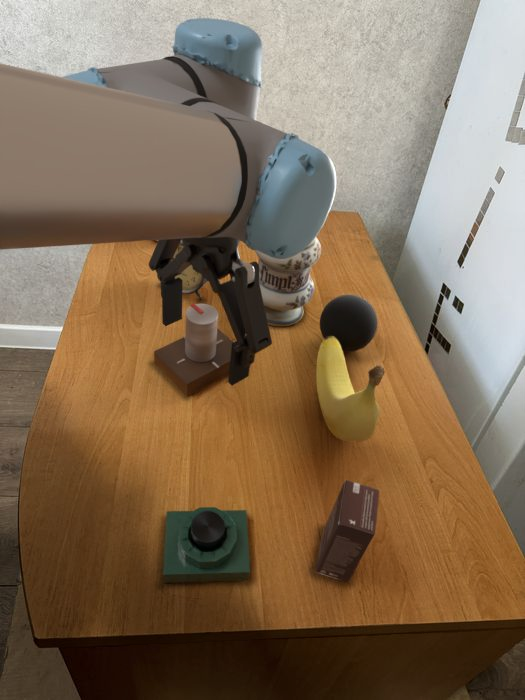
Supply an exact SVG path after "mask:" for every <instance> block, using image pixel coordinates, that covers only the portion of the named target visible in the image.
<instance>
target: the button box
mask: <svg viewBox="0 0 525 700" xmlns="http://www.w3.org/2000/svg"><path fill="white" fill-rule="evenodd" d="M204 511H213V512H216V513H218V514H219V515H220V516H221V517H222V518H223V520H224V522H225V535H224V540H223V542H222V543H221V545H220V546H219V547H217V548H216V549H214V550H210V551H204V550H201V549H199V548H197V547H196V546H195V545H194V544H193V543H192V540H191V523H192V520H193V519H194V517H195V516H196V515H198V514H199V513H201V512H204ZM247 513H248V512H247V510H246V509H235V510H232V509H231V510H230V509H227V510H226V509H225V510H223V509H220V508H219V507H216V506H200V507H197V508H195V509H194V510H167V511H166V515H165V517H166V519H165V534H164V535H165V536H164V551H163V554H164V555H163V569H162V581H163V582H162V583H163V584H167V583H168V584H169V583H171V584H172V583H198V582H199V583H200V582H201V583H202V582H205V583H206V582H230V581H231V582H236V581H249V579H250V575H251V562H250V561H251V560H250V548H249V547H250V546H249V545H250V544H249V532H248V530H249V528H248V516H247V515H248V514H247Z"/></svg>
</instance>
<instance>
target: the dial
mask: <svg viewBox="0 0 525 700" xmlns="http://www.w3.org/2000/svg"><path fill="white" fill-rule="evenodd" d="M184 322H185V325H184V327H185V328H184V329H185V330H184V335H185V353H186V355H187V357H188V358H189V359H191V360H193V361H196V362H206V361H209V360H211V359H212V358H213V357H214V356H215V354H216V343H217V328H218V326H219V312H218V310H217V308H215V307H214V306H212V305H211V304H206V303H196V304H195V303H194V302H193V303H192V304H190V306H189V307H188V308H187V309H186V310H185V321H184ZM218 329H219V328H218Z"/></svg>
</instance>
